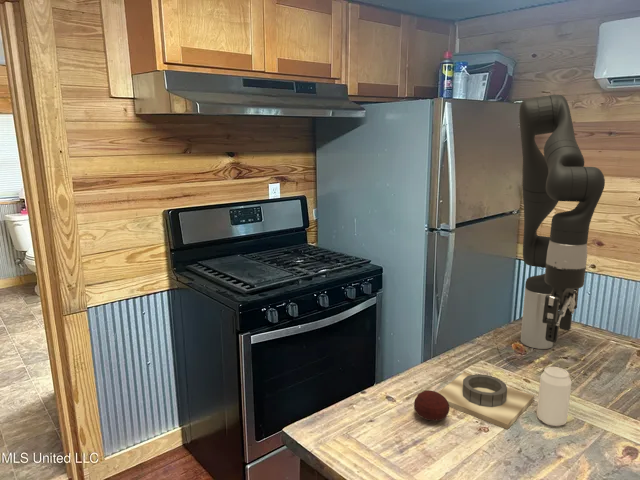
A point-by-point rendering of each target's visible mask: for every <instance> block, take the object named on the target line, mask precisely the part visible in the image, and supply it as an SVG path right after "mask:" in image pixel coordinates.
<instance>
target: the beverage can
mask: <svg viewBox="0 0 640 480" xmlns="http://www.w3.org/2000/svg"><path fill="white" fill-rule="evenodd" d="M571 391H572V380H571V377H570V373H569V371H567V370H566V369H565V368H562V367H558V366H545V368H544V369H543V372H542V373H541V374H540V377H539V388H538V398H537V406H536V407H537V408H536V416H537V418H538V419H539V420H540V421H542V423H544V424H546V425H548V426H552V427H559V426H563V425H565V424H566V423H567V421H568V416H569V415H568V414H569V407H570V399H571Z"/></svg>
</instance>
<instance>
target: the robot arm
mask: <svg viewBox="0 0 640 480" xmlns="http://www.w3.org/2000/svg"><path fill="white" fill-rule="evenodd" d="M518 115H519V116H518V118H519V130H520V139H521V140H520V141H521V150H522V201H523V238H522V241H523V243H522V258H523V262H524V264H525V265H527V266H530V267H536V268H541V269H542V268H543V269H544V271H545V272H544V273H543V274H539V275H532V276H529V277H528V278H527V277H526V280H525V288H524V297H523V299H524V300H523V308H522V319H521V320H522V321H521V330H520V331H521V332H520V343H522V344H523V345H524V346H527V347H530V348H533V349H537V350H538V349H539V350H546V349H551V348H553V347H554V343H556V342H558V338H559V329H560V330H564V331H570V330H571V329H572V320H573V315H574V313H575V310H577V308H578V300H579V290H580V289H581V288H582V287H584V285H585V278H586V270H587V261H588V240H589V231H590V225H591V221H592V218H593V215H594V213H595V211H596V207H597V206H598V204H599V201H600V199H601V197H602V195H603V192H604V190H605V183H606V178H605V176H604V173H603V171H602V170H601V169H600V168H599V167H596V166H585V159H584V156H583V153H582V151H581V149H580V146H579V145H578V142H577V140H576V136H575V129H574V124H573V120H572V114H571V111H570V106H569V102H568V100H567V99H566V97H565V96H564V95H562V94H549V95H544V96H538V97H532V98H531V97H530V98H527V99H524V100H523V101H521V103H520V105H519V113H518ZM545 134H550V135H549V137H548V138H547V140H546V141H545V144H544V147H543V153H542V151H541V149H540V148H539V147H538V144H537V143H536V141H535V138H536V137H535V136H537V135H538V136H539V135H545ZM559 202H576V203H577V202H578V203H577V205H576V206H574V208H573V209H571V210H566V211H562V212H557V213H555V214H554V215H553V216H552V218H551V223H550V234H549V236H544V235H539V234H537V232H538V230H539V227H540V226H541V224H542V223H543V222H544V221H545V219H546V218H548V216H549V215H550V214H551V213H552V212H553V211H554V209H555V208H556V207H557V205H558V204H559Z"/></svg>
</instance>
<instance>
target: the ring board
mask: <svg viewBox="0 0 640 480" xmlns="http://www.w3.org/2000/svg"><path fill="white" fill-rule="evenodd" d="M438 393H439V394H441V395H442V396H444V397H445V398H446V399H447V401H448V403H449V407H451V408H453V409H455V410H456V411H457V410H458V411H460V412H463V413H465V414H468V415H470V416H472V417H475V418H478V419H480V420H483V421H485V422H488V423H490V424H493V425H495V426H497V427H499V428H502V429H505V430H508V429H509V428H510V427H511V426H512V425H513V424H514V423H515V421H516V420H517V419H518V418H519V417H520V416H521V415H522V414H523V413H524V411H526V409H527V408H528V407H529V406H530V405H531V404H532V403H533V402H534V399H535V395H533V394H530V393H527V392H525V391H521V390H518V389H515V388H512V387H509V386H507V384H506V382H504V381H503V380H502V379H500V378H498V377H495V376H493V375H489V374H481V373H480V374H479V373H477V374H476V373H475V374H472V373H468V372H465V371H464V372H463V373H461V374H460V375H458V376H457V377H456V378H454V379H453V380H452V381H451V382H449V383H448V384H447V385H446V386H444V387H443V388H442V389H440V391H438Z"/></svg>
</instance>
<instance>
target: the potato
mask: <svg viewBox="0 0 640 480" xmlns="http://www.w3.org/2000/svg"><path fill="white" fill-rule="evenodd" d="M438 392H439V391H438ZM438 392H437V391H434V390H430V389H429V390H426V389H425V390H423V391H422V392H420V393H417V395H416V397H415V399H414V403H413V407H414V411H415V412H416V414H417V415H418V416H420V417H421V418H422V419H424V420H428V421H441V420H444V419H445V418H446V417H447V416H448V415H449V412H450V406H449V403H448V401H447V399H446V398H445V397H444V396H442V395H441V394H439V393H438Z"/></svg>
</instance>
